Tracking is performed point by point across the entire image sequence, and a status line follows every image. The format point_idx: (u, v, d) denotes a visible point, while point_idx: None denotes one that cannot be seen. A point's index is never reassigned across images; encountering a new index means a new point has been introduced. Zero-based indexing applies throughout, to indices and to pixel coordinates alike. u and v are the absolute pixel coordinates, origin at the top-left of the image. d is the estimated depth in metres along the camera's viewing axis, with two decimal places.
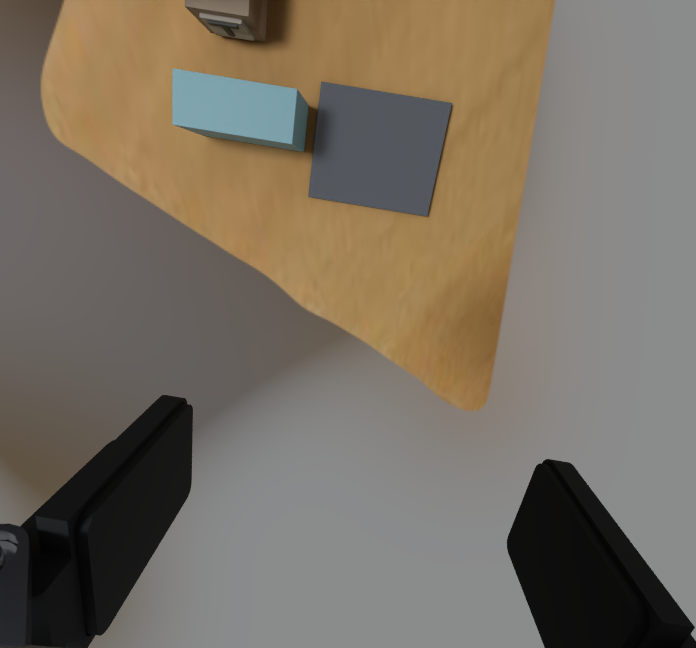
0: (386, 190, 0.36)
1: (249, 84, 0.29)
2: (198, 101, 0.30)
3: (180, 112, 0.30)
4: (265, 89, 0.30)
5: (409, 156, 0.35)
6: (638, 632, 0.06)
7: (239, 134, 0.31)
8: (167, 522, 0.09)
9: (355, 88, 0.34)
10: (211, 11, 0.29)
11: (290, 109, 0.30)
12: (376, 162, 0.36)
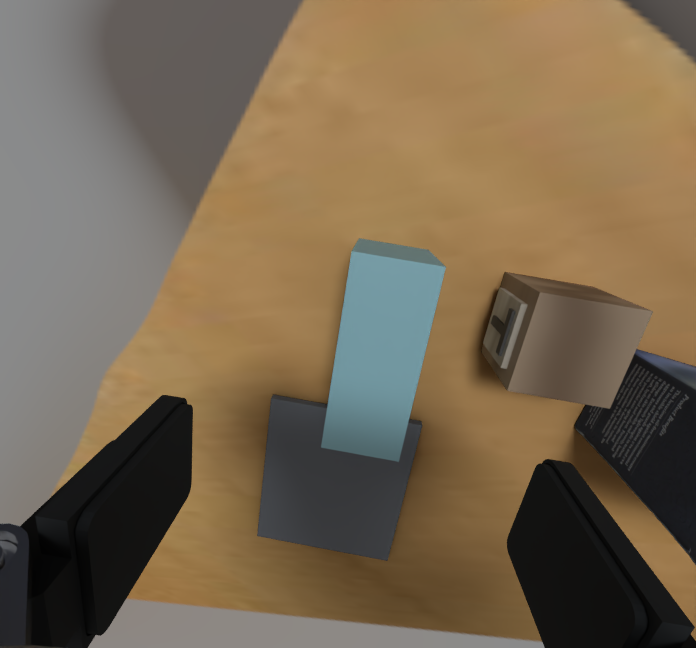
0: (286, 494, 0.27)
1: (409, 395, 0.18)
2: (389, 306, 0.16)
3: (372, 270, 0.16)
4: (401, 418, 0.18)
5: (328, 519, 0.27)
6: (638, 632, 0.06)
7: (334, 370, 0.17)
8: (167, 522, 0.09)
9: (410, 464, 0.25)
10: (524, 333, 0.17)
11: (370, 450, 0.19)
12: (320, 484, 0.26)
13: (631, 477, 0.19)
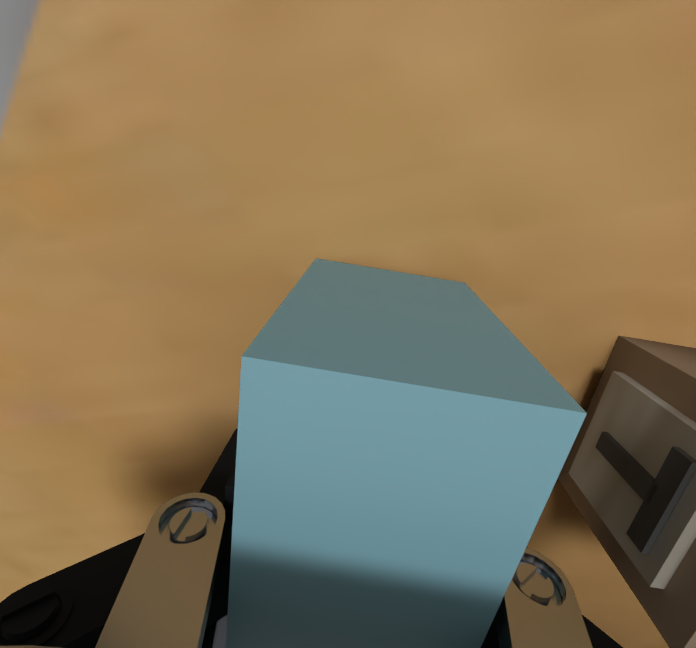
0: None
1: None
2: (379, 519, 0.05)
3: (319, 417, 0.04)
4: None
5: None
6: None
7: None
8: None
9: None
10: None
11: None
12: None
13: None
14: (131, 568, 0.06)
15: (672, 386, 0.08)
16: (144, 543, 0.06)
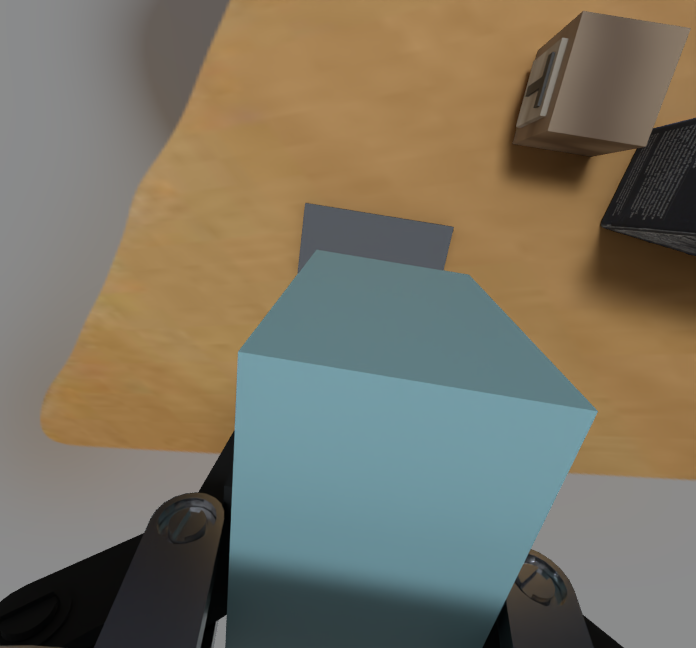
0: None
1: None
2: (382, 518, 0.05)
3: (319, 415, 0.04)
4: None
5: None
6: None
7: None
8: None
9: None
10: (566, 63, 0.18)
11: None
12: None
13: (664, 221, 0.19)
14: (130, 568, 0.05)
15: (552, 44, 0.20)
16: (143, 543, 0.06)
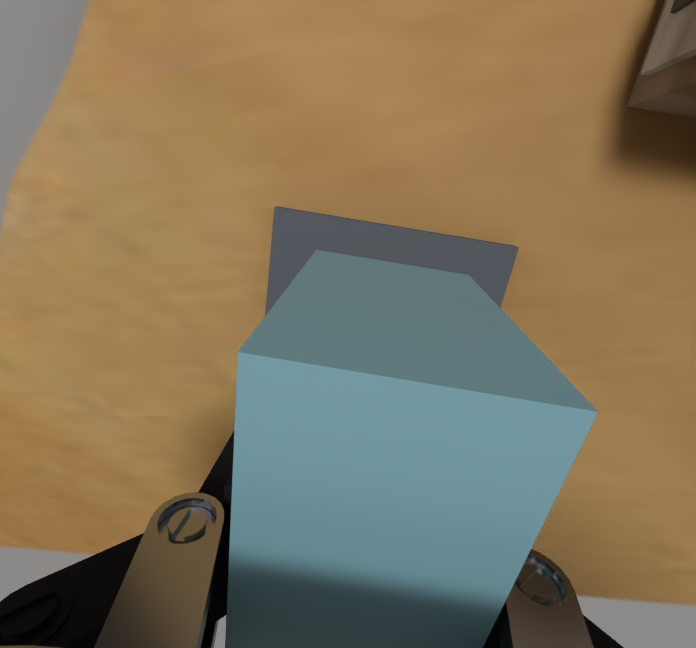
0: None
1: None
2: (381, 518, 0.05)
3: (318, 415, 0.04)
4: None
5: None
6: None
7: None
8: None
9: None
10: None
11: None
12: None
13: None
14: (130, 568, 0.06)
15: None
16: (143, 543, 0.06)
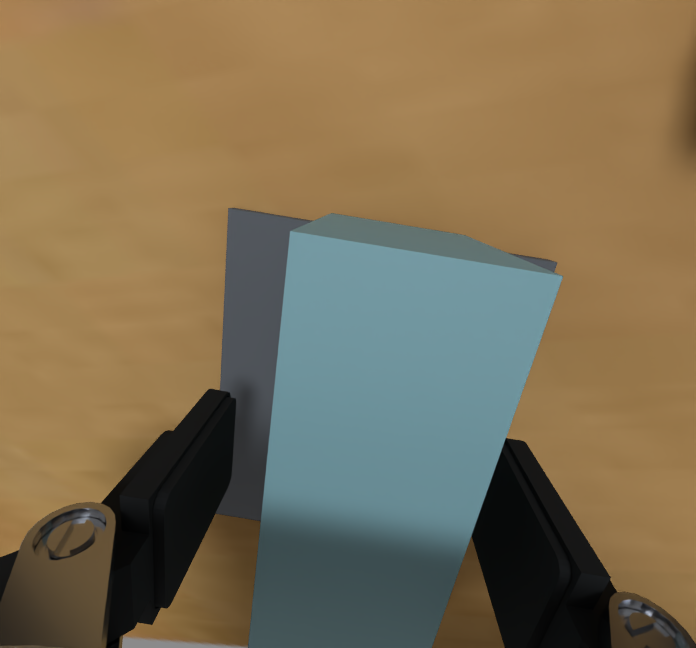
0: (266, 429, 0.14)
1: (444, 577, 0.07)
2: (397, 381, 0.06)
3: (350, 285, 0.06)
4: (422, 619, 0.08)
5: None
6: (562, 584, 0.07)
7: (264, 523, 0.07)
8: (214, 508, 0.10)
9: None
10: None
11: None
12: None
13: None
14: (3, 599, 0.05)
15: None
16: (16, 569, 0.05)
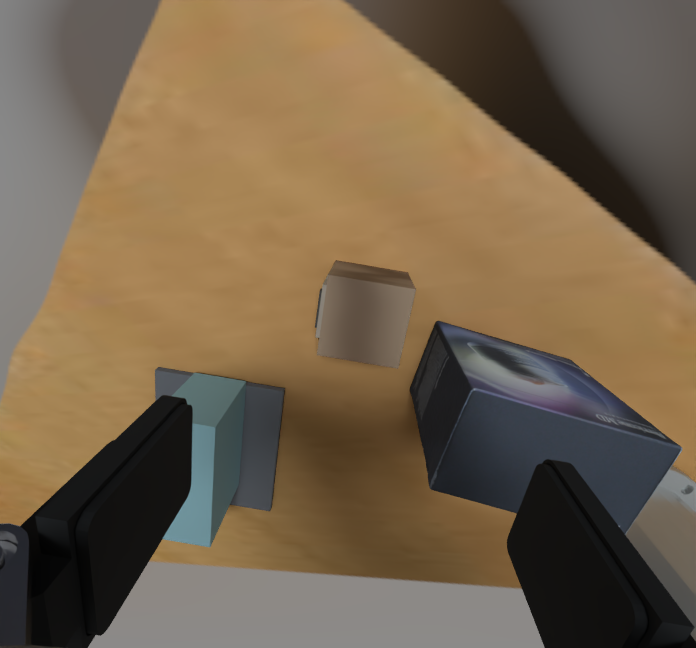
0: None
1: (208, 504, 0.25)
2: None
3: None
4: (205, 519, 0.25)
5: None
6: (638, 632, 0.06)
7: None
8: (167, 522, 0.09)
9: (278, 425, 0.30)
10: (323, 307, 0.22)
11: (189, 539, 0.26)
12: None
13: (420, 424, 0.23)
14: None
15: None
16: None
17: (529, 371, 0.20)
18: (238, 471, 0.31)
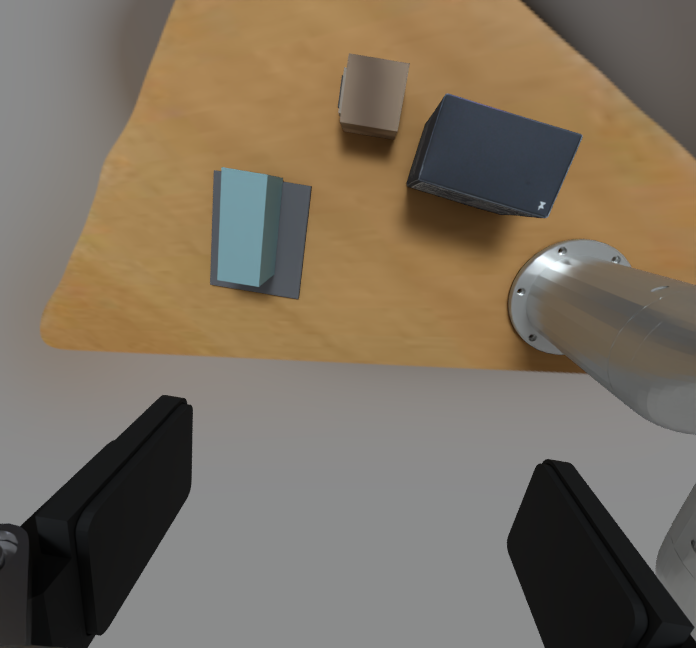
0: None
1: (259, 246, 0.34)
2: (243, 196, 0.33)
3: (232, 177, 0.32)
4: (256, 260, 0.34)
5: None
6: (638, 632, 0.06)
7: (220, 233, 0.34)
8: (167, 522, 0.09)
9: (306, 217, 0.39)
10: (345, 82, 0.31)
11: (243, 280, 0.35)
12: None
13: (413, 176, 0.32)
14: None
15: None
16: None
17: None
18: (274, 259, 0.40)
